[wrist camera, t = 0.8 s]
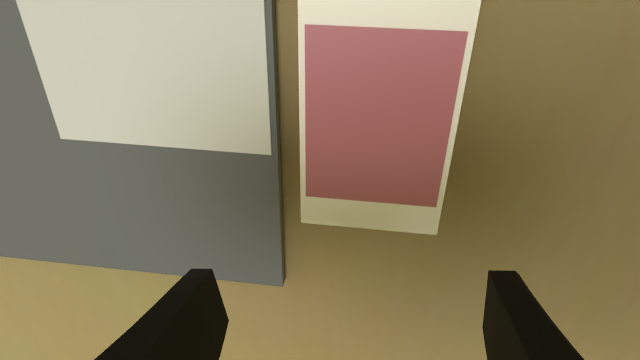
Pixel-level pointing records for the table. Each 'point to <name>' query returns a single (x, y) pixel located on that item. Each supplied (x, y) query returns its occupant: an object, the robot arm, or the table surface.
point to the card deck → (380, 108)
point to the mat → (142, 136)
